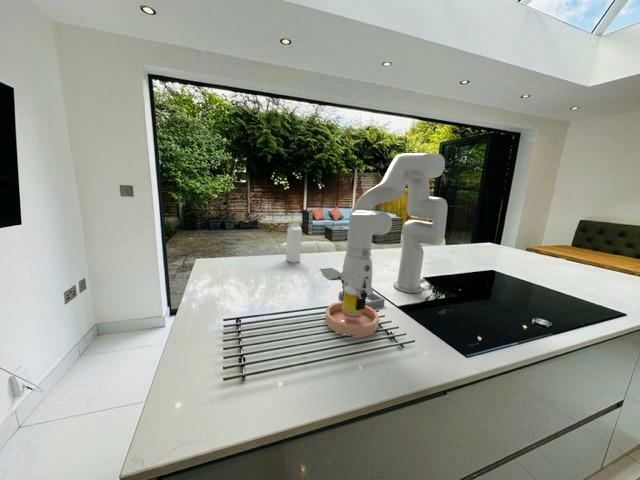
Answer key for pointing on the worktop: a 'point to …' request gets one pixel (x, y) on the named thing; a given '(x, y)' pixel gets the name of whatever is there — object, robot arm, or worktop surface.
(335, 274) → the cleaver
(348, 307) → the supplement bottle
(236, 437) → the worktop surface
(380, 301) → the grey square frame
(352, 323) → the bowl
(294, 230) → the milk
